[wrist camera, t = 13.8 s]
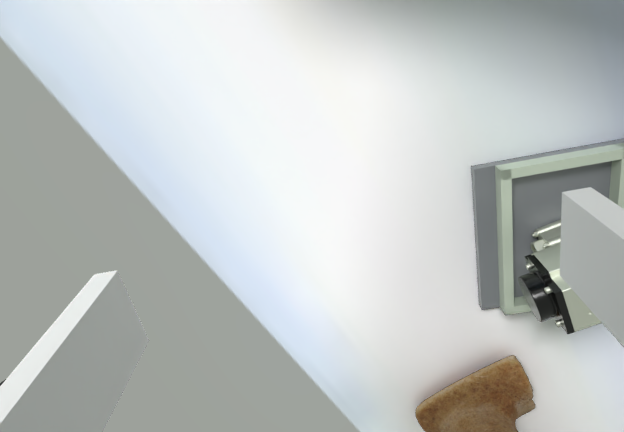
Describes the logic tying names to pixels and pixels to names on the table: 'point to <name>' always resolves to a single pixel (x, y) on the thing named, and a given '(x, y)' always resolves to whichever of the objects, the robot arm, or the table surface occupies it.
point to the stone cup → (480, 401)
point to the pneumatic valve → (552, 284)
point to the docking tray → (531, 210)
